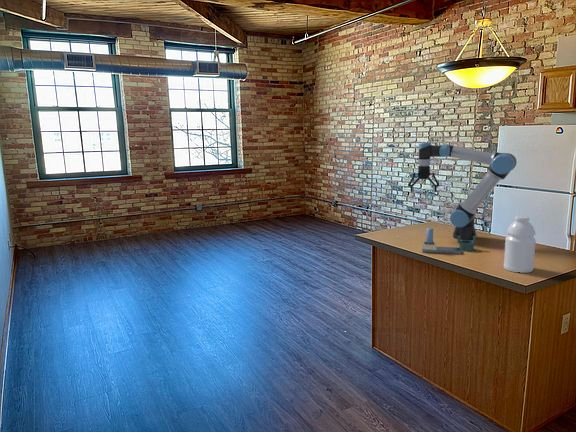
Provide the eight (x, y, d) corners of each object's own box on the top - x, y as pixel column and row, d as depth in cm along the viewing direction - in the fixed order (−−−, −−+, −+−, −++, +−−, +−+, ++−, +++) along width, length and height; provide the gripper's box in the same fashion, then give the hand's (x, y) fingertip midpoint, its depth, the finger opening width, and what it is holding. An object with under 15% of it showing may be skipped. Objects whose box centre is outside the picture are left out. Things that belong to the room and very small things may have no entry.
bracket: (476, 250, 259) (477, 235, 257) (467, 252, 254) (467, 237, 253) (464, 247, 266) (465, 233, 265) (454, 249, 262) (455, 235, 260)
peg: (432, 247, 260) (433, 228, 258) (432, 248, 257) (433, 229, 254) (425, 246, 262) (426, 228, 259) (425, 248, 258) (426, 229, 256)
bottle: (511, 273, 214) (515, 219, 209) (498, 265, 228) (501, 214, 223) (539, 272, 214) (543, 219, 209) (524, 264, 228) (528, 214, 223)
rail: (459, 250, 258) (460, 242, 257) (461, 254, 250) (461, 246, 249) (422, 248, 264) (422, 241, 263) (422, 252, 257) (422, 244, 256)
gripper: (443, 164, 284) (442, 196, 288) (405, 165, 291) (404, 195, 295) (444, 165, 277) (442, 197, 281) (404, 166, 284) (404, 197, 288)
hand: (423, 196), depth 288 cm, fingers open, 13 cm apart
